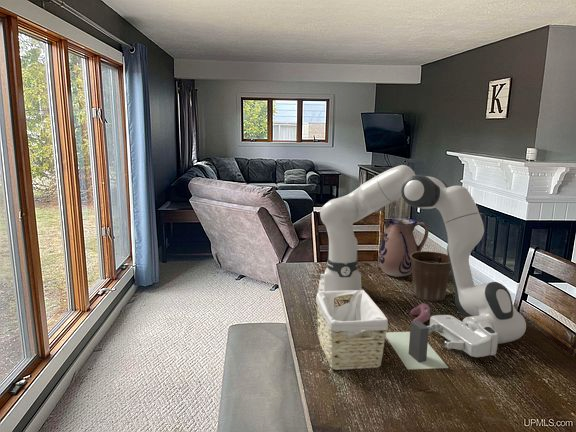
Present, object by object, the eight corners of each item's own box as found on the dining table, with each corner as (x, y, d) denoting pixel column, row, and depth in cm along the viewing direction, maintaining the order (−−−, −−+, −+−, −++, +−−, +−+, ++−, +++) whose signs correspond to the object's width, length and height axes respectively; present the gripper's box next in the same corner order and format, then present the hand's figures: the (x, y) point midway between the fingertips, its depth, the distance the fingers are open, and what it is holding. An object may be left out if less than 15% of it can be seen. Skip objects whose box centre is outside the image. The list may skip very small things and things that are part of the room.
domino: (408, 353, 126) (410, 321, 124) (416, 352, 127) (418, 320, 125) (418, 362, 121) (420, 329, 119) (426, 361, 122) (429, 327, 120)
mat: (383, 333, 139) (383, 332, 139) (418, 332, 140) (418, 331, 140) (407, 371, 118) (407, 369, 118) (448, 369, 119) (448, 367, 119)
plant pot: (451, 306, 162) (454, 265, 159) (406, 300, 167) (408, 260, 164) (450, 291, 177) (453, 253, 174) (408, 286, 182) (411, 249, 179)
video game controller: (423, 331, 145) (434, 314, 143) (411, 324, 145) (422, 307, 144) (420, 319, 155) (430, 303, 153) (408, 312, 155) (419, 296, 153)
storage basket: (313, 333, 139) (314, 289, 137) (363, 331, 141) (365, 288, 138) (328, 374, 116) (330, 322, 113) (387, 371, 118) (390, 320, 115)
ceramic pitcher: (374, 267, 207) (376, 216, 202) (418, 268, 207) (422, 217, 202) (380, 280, 190) (383, 224, 185) (429, 281, 189) (433, 224, 185)
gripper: (453, 307, 138) (415, 312, 134) (502, 336, 119) (459, 343, 115) (451, 326, 139) (414, 331, 135) (499, 358, 120) (457, 365, 116)
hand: (435, 337), depth 125 cm, fingers open, 8 cm apart
